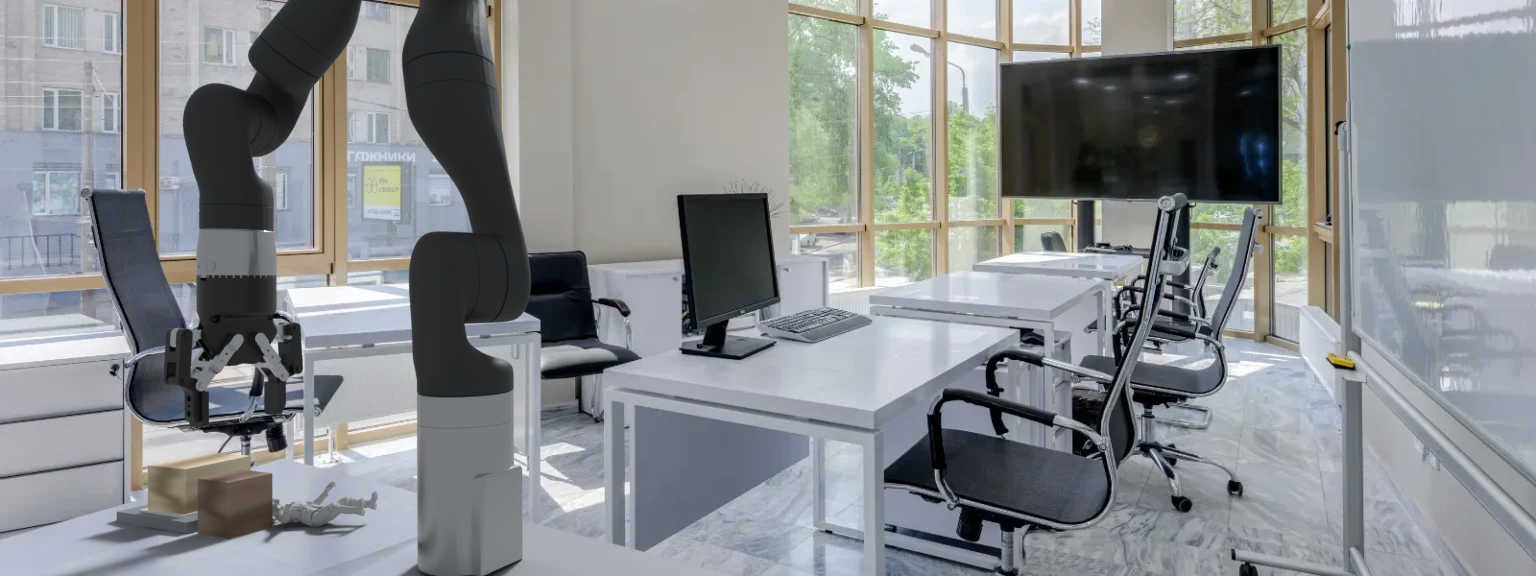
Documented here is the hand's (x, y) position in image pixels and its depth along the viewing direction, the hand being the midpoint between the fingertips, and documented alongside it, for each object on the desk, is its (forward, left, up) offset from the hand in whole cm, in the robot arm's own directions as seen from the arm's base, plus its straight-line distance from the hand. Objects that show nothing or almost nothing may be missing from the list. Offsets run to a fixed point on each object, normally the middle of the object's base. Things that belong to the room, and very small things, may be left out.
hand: (237, 420), depth 96 cm
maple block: (+9, -2, -11) cm, 14 cm away
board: (+9, -2, -12) cm, 15 cm away
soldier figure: (-12, -6, -11) cm, 18 cm away
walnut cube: (0, 0, -12) cm, 12 cm away
